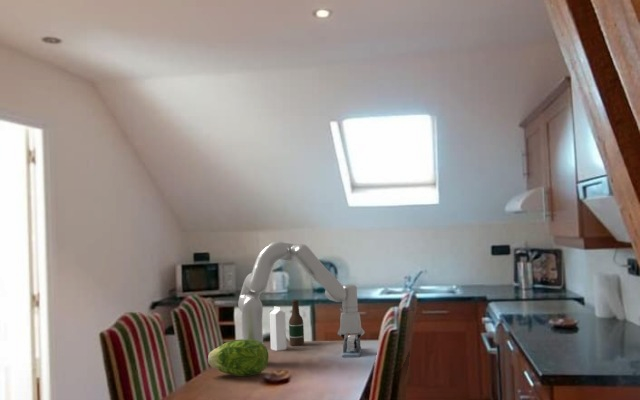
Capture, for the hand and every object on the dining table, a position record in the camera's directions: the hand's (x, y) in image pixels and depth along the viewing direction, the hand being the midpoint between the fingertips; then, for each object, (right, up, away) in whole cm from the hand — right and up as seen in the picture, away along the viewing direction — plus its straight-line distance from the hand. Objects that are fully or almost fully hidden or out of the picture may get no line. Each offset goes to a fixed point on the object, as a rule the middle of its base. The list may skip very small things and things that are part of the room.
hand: (351, 347), depth 288 cm
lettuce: (-51, -3, -36) cm, 62 cm away
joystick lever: (0, 0, +2) cm, 2 cm away
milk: (-37, -5, +16) cm, 41 cm away
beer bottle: (-28, -5, +26) cm, 39 cm away
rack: (0, -3, 0) cm, 3 cm away
